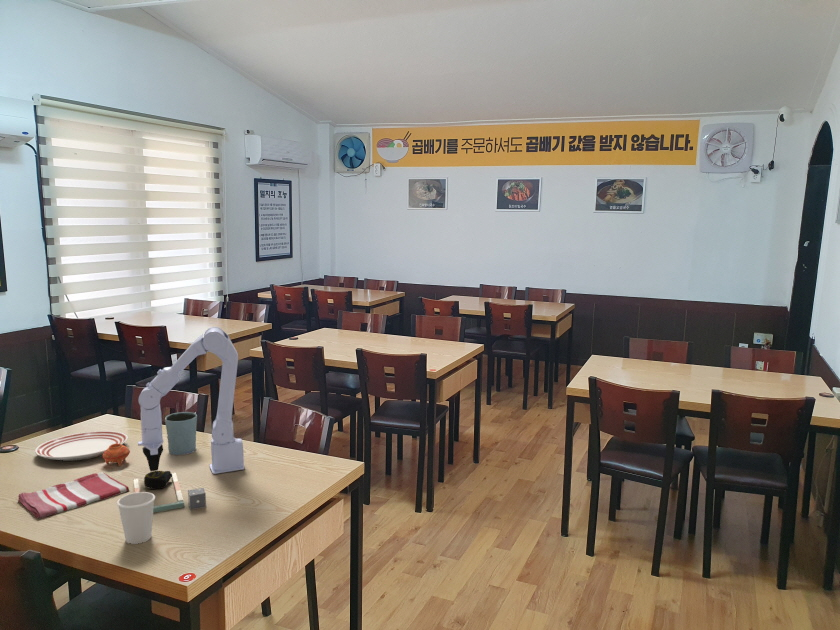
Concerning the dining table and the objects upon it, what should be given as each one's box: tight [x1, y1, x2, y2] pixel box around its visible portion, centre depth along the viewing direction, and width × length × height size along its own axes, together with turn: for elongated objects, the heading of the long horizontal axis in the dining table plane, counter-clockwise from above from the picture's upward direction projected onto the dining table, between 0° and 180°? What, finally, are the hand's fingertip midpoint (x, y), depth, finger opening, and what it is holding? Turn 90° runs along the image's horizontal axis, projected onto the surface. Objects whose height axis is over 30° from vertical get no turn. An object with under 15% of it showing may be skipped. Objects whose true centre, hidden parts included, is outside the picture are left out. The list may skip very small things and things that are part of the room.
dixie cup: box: [116, 491, 156, 545], centre depth 151 cm, size 8×8×10 cm
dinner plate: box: [34, 430, 129, 462], centre depth 210 cm, size 28×27×3 cm
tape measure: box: [143, 470, 172, 490], centre depth 182 cm, size 7×7×4 cm
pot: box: [102, 444, 131, 467], centre depth 199 cm, size 8×8×7 cm
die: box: [187, 487, 207, 511], centre depth 170 cm, size 4×4×4 cm
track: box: [133, 472, 185, 514], centre depth 176 cm, size 12×23×1 cm, turn 26°
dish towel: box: [17, 471, 130, 520], centre depth 175 cm, size 17×23×3 cm
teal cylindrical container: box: [164, 411, 198, 456], centre depth 210 cm, size 10×10×12 cm
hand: (154, 470), depth 190 cm, fingers closed
